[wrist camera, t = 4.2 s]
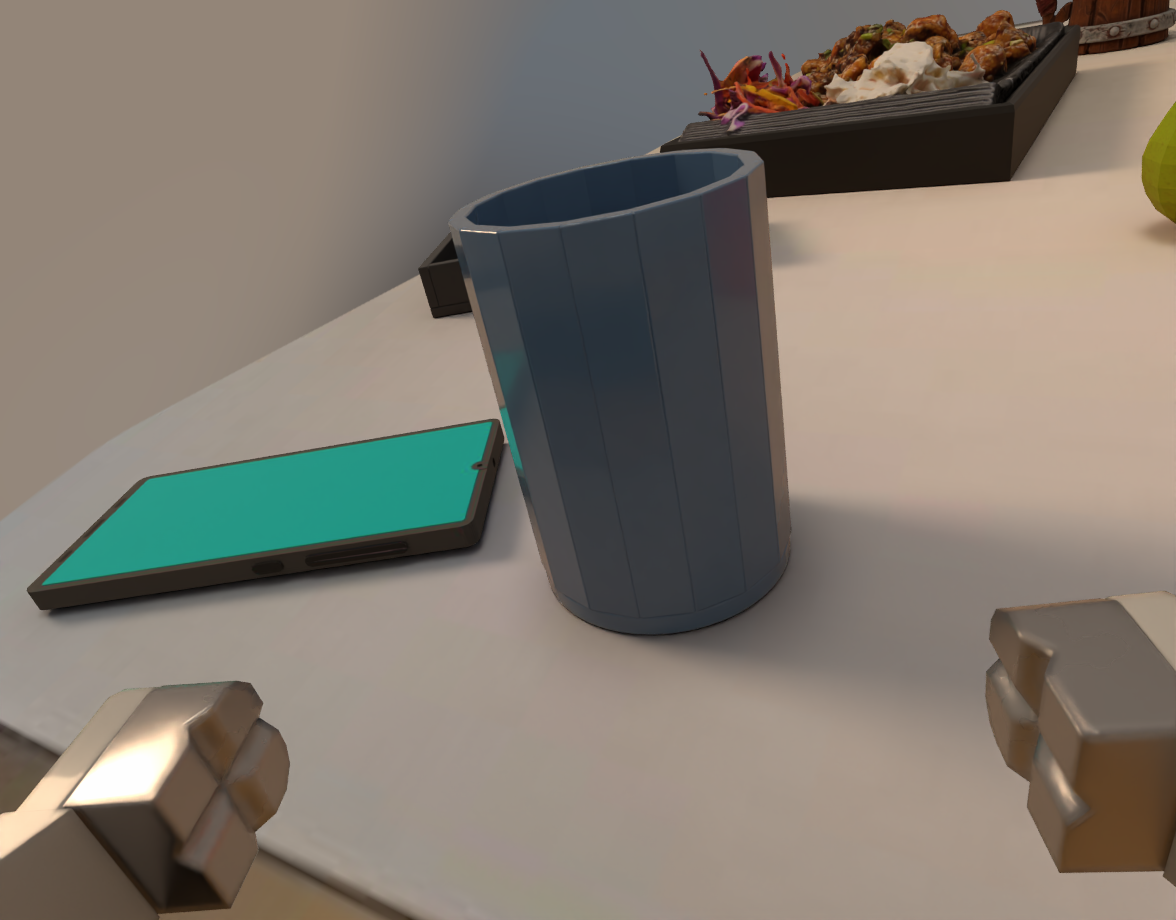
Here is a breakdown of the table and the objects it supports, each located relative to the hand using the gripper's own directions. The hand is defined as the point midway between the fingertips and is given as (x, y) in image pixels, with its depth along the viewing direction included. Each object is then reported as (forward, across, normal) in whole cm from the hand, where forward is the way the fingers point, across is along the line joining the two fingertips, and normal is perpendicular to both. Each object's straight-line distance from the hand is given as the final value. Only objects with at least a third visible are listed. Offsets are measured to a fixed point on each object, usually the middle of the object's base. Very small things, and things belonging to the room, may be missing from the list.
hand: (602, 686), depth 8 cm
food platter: (+72, -23, +7) cm, 75 cm away
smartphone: (+16, +13, +7) cm, 22 cm away
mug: (+102, -54, +7) cm, 116 cm away
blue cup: (+11, 0, +7) cm, 13 cm away
